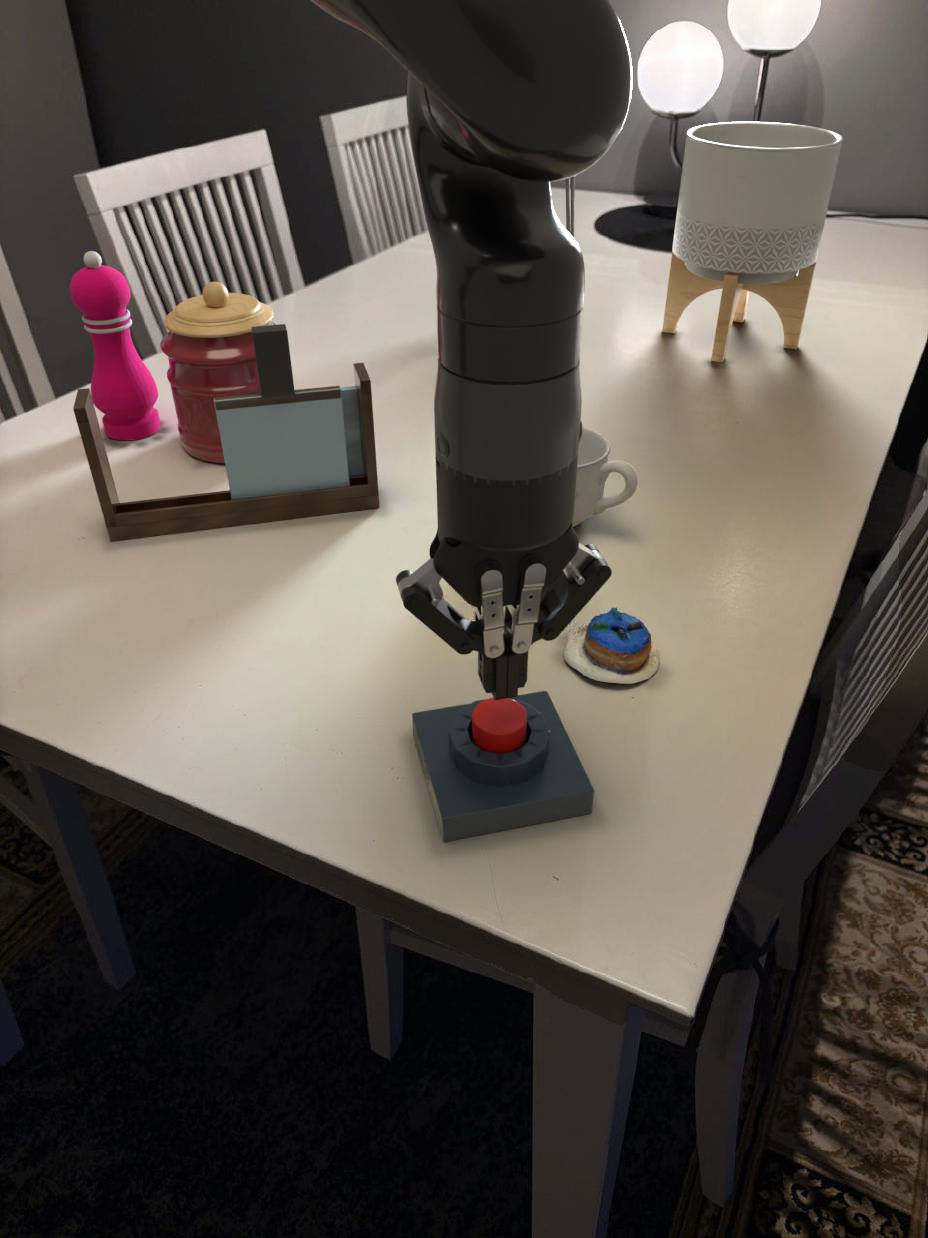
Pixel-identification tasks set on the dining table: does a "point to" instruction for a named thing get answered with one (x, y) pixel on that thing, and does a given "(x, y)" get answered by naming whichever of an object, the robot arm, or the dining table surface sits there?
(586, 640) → the dessert
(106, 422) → the pepper mill
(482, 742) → the button
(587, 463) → the teacup
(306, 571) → the dining table surface
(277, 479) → the window pane
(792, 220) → the planter
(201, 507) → the window frame
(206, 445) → the kitchen canister
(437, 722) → the button box
